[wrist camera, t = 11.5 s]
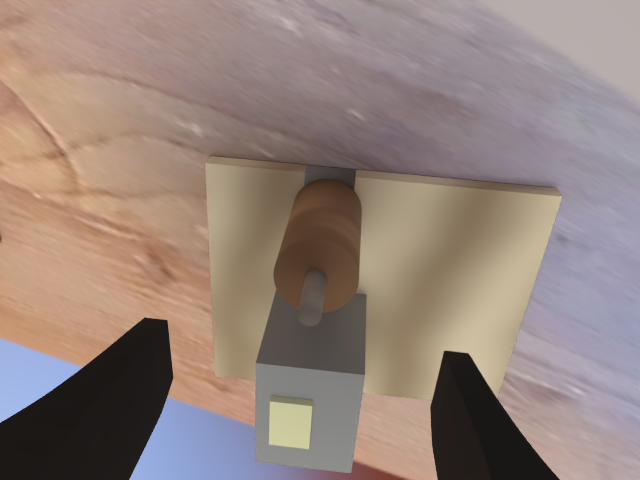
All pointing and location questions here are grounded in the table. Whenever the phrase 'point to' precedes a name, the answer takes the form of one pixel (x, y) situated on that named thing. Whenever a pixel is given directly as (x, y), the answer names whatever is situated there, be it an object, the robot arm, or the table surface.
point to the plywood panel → (385, 266)
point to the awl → (320, 250)
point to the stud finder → (310, 387)
